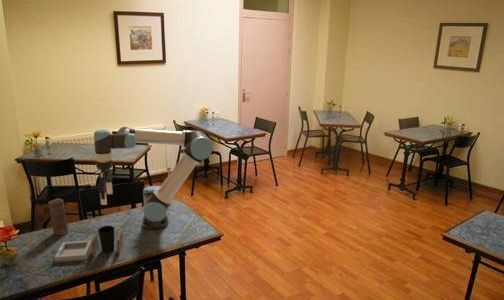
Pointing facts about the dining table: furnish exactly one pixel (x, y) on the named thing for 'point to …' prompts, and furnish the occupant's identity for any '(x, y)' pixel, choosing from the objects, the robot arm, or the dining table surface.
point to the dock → (73, 251)
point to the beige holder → (96, 243)
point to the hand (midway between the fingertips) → (106, 199)
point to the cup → (107, 238)
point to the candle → (58, 216)
